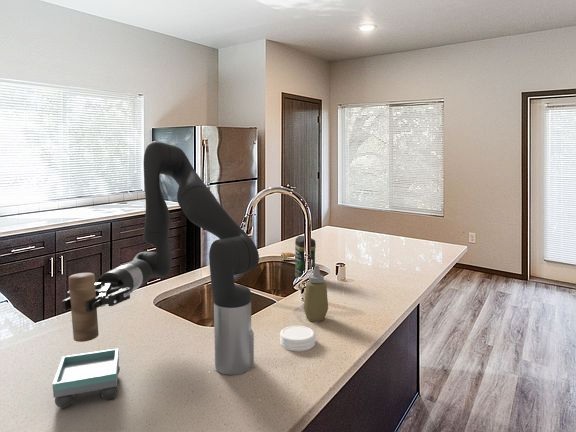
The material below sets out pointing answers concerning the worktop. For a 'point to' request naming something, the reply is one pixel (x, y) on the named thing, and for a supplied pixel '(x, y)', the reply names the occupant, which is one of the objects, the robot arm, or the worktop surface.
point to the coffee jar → (302, 255)
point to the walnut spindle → (83, 307)
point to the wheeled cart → (86, 375)
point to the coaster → (297, 338)
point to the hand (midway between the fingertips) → (75, 306)
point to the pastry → (287, 255)
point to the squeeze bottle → (316, 297)
